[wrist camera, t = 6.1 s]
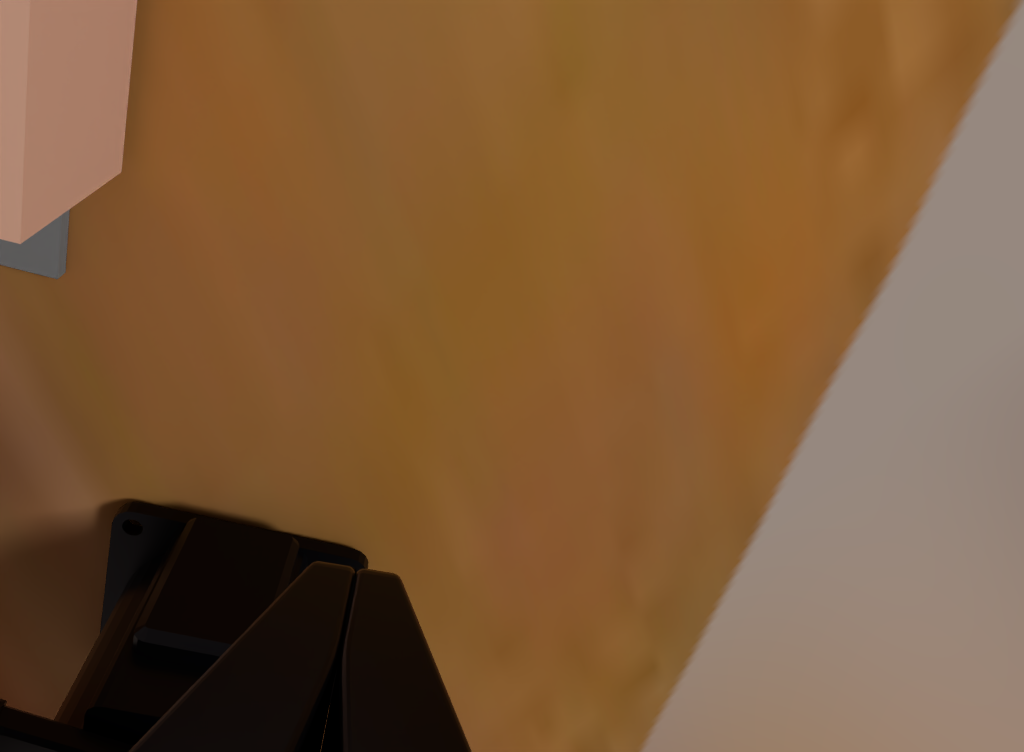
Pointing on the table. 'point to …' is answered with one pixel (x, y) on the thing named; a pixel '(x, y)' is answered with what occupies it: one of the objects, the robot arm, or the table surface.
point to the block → (60, 105)
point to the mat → (40, 250)
